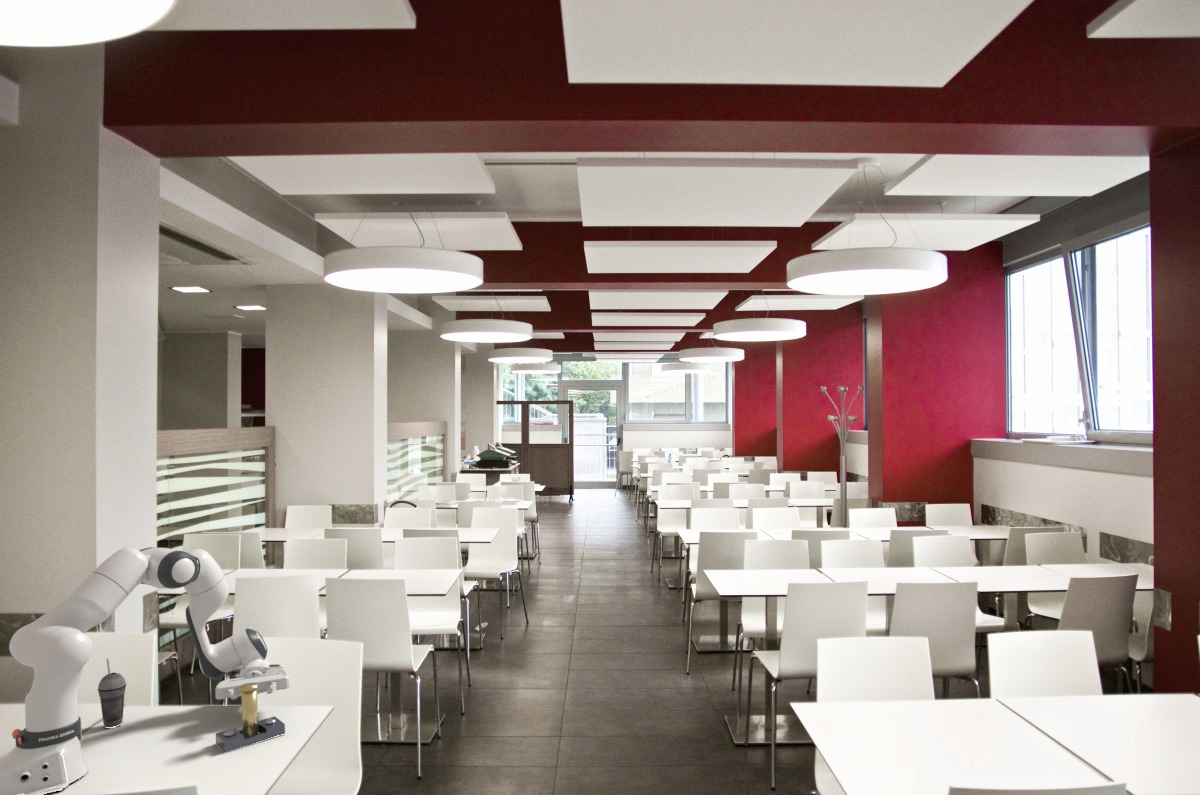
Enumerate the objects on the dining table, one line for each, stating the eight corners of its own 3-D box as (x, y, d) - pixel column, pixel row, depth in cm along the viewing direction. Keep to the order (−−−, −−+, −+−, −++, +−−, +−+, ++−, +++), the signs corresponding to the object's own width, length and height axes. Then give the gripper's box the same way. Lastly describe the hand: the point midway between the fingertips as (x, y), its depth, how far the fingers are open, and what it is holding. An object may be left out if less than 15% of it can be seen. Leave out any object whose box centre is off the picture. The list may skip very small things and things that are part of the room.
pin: (244, 744, 213) (242, 689, 213) (238, 739, 217) (237, 685, 217) (262, 739, 216) (260, 685, 217) (256, 734, 220) (255, 681, 220)
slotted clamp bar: (224, 752, 208) (224, 739, 208) (215, 744, 214) (215, 731, 214) (285, 734, 219) (284, 721, 219) (275, 726, 225) (274, 714, 225)
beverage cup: (117, 730, 227) (115, 662, 227) (92, 731, 227) (91, 662, 227) (132, 720, 234) (131, 654, 234) (109, 721, 234) (107, 655, 235)
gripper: (216, 674, 234) (211, 689, 221) (289, 663, 242) (288, 677, 229) (217, 695, 234) (212, 711, 221) (289, 683, 242) (289, 698, 229)
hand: (252, 693), depth 225 cm, fingers open, 8 cm apart
